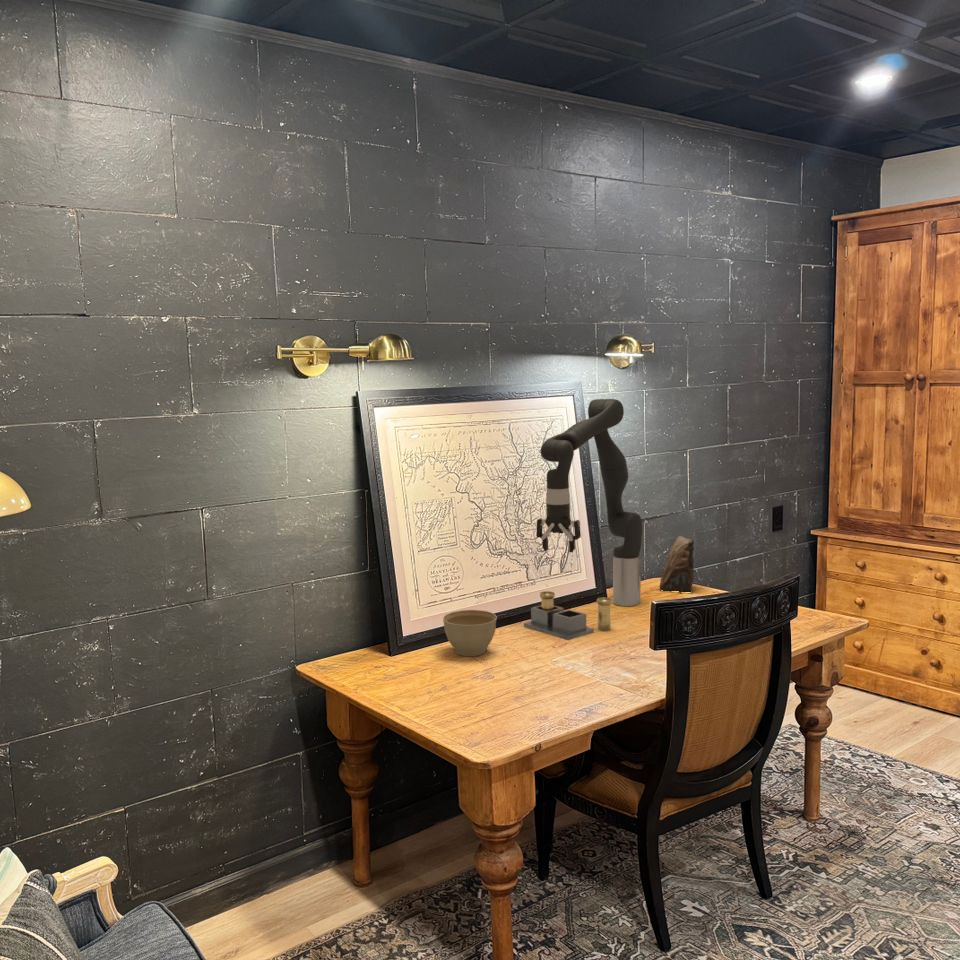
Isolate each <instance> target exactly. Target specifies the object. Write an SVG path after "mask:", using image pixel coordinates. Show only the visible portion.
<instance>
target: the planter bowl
mask: <svg viewBox="0 0 960 960" xmlns="http://www.w3.org/2000/svg"><path fill="white" fill-rule="evenodd" d="M497 618H498V617H497V615H496V614H495V613H493V612H491V611H487V610H481V609H463V610H462V609H461V610H457V611H451V612H449V613H446V614H445V615H443V617H442V620H443V621H442V622H443V626H444V633H445V635H446V637H447V640H448V641H449V643H450V645H451V647H453V649H454V653H455V654H457V655H459V656H465V657H476V656H480V655H481V656H482V655H484V654H485V653H486V652H487V651H488V646H490V644H491V643H492V640H493V639H494V636H495V634H496V633H495V632H496V627H497V620H498V619H497Z"/></svg>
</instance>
